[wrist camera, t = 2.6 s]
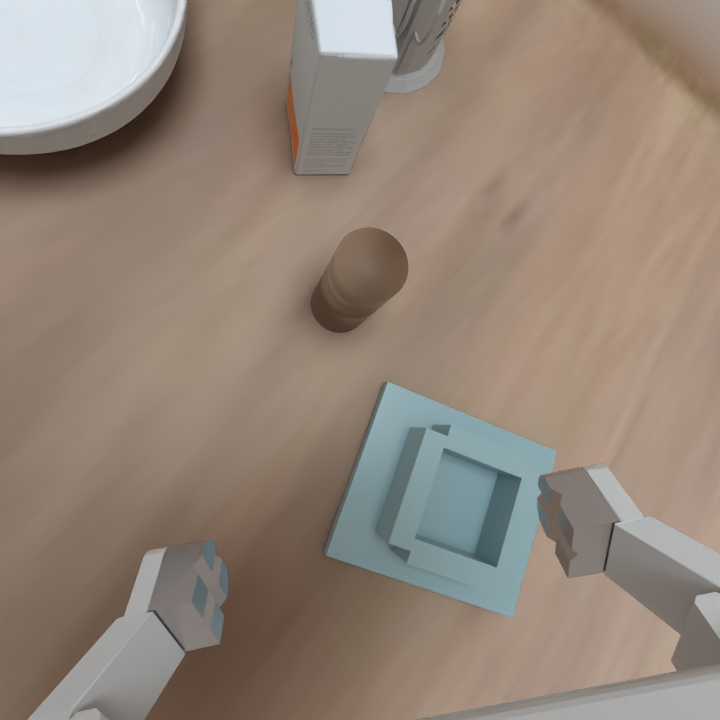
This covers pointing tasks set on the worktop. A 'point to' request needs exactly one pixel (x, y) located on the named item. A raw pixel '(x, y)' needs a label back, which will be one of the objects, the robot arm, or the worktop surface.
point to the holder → (441, 501)
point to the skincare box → (336, 79)
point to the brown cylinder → (359, 279)
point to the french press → (418, 42)
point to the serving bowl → (81, 67)
